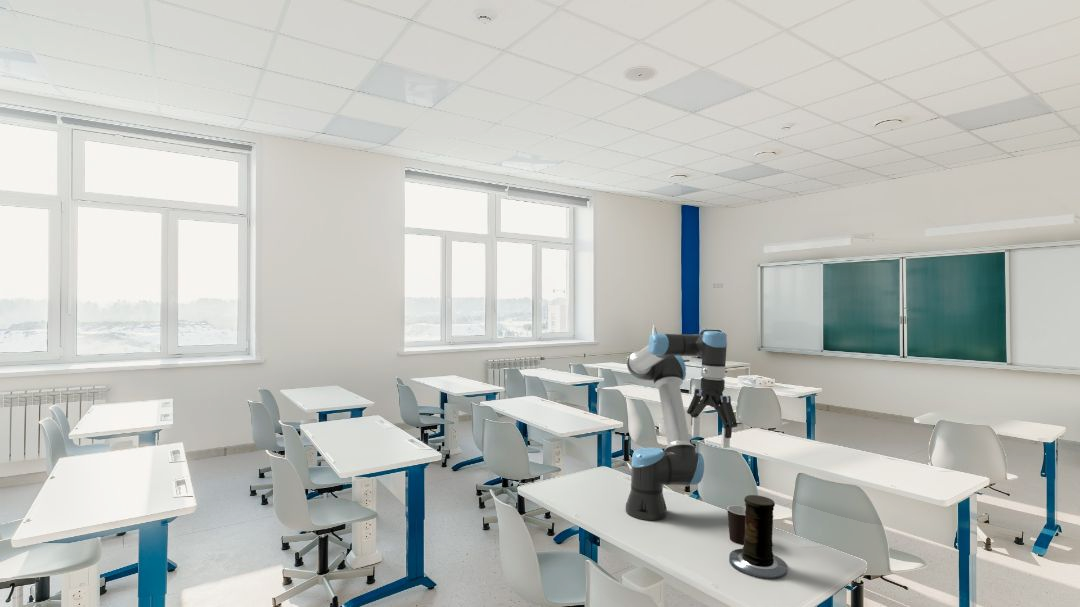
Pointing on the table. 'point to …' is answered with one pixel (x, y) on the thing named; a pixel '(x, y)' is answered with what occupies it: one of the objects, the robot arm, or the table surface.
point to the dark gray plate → (758, 567)
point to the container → (758, 531)
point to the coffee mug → (736, 523)
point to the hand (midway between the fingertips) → (709, 441)
